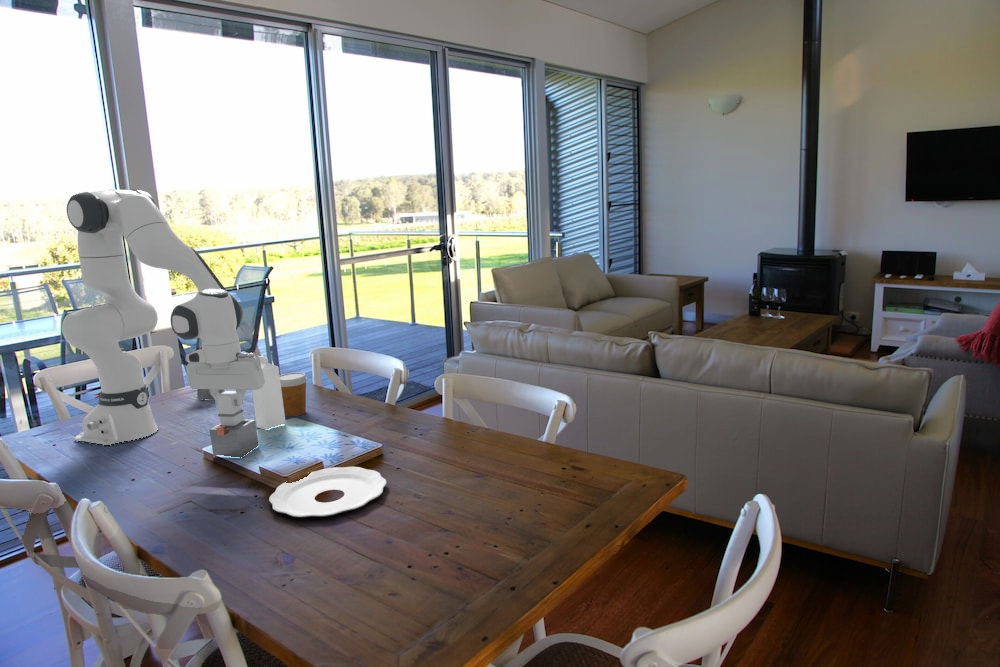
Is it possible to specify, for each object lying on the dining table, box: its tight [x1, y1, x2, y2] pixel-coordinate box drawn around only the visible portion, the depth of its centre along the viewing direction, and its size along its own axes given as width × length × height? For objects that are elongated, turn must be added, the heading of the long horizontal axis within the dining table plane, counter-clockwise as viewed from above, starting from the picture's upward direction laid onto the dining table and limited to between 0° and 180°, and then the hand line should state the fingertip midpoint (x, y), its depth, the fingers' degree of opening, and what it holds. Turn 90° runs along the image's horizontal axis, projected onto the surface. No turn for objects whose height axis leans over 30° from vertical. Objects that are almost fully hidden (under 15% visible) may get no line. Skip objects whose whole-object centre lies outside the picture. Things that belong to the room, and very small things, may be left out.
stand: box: [208, 418, 260, 459], centre depth 178 cm, size 14×14×10 cm
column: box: [217, 390, 245, 429], centre depth 177 cm, size 4×4×16 cm
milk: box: [251, 355, 287, 430], centre depth 196 cm, size 6×6×22 cm
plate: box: [268, 466, 387, 519], centre depth 152 cm, size 25×25×2 cm
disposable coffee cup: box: [279, 372, 308, 417], centre depth 211 cm, size 10×10×12 cm
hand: (229, 405), depth 176 cm, fingers closed on column, 4 cm apart
